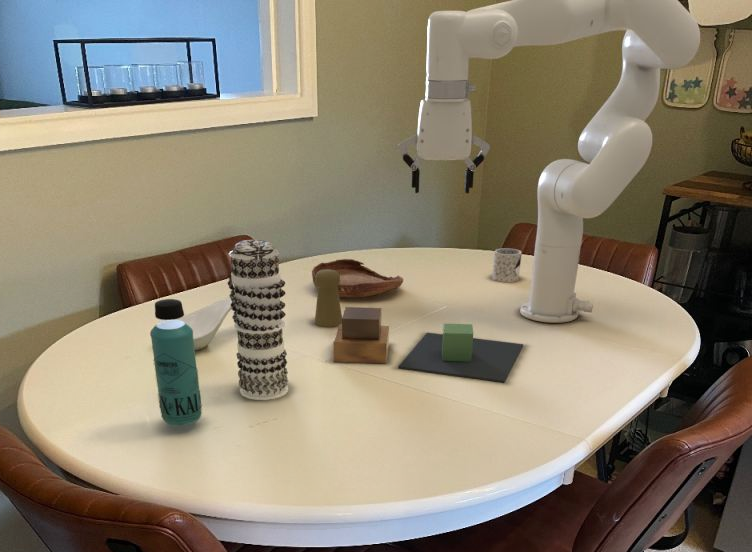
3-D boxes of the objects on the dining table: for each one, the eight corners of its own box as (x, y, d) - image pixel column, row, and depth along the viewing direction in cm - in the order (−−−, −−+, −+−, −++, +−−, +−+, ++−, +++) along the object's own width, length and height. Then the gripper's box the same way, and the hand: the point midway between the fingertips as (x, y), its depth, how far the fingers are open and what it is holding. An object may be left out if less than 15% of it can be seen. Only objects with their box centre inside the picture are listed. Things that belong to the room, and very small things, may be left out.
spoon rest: (180, 361, 146) (175, 325, 142) (147, 345, 153) (142, 310, 149) (277, 332, 160) (275, 298, 156) (243, 319, 167) (240, 286, 163)
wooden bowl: (418, 288, 188) (419, 267, 185) (375, 309, 174) (375, 287, 171) (342, 274, 198) (342, 254, 195) (295, 293, 184) (294, 272, 181)
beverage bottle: (165, 417, 125) (147, 295, 115) (206, 415, 126) (192, 294, 115) (159, 435, 120) (140, 308, 109) (202, 433, 120) (187, 307, 110)
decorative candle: (268, 405, 130) (258, 253, 116) (226, 393, 134) (212, 245, 120) (300, 387, 136) (294, 241, 123) (259, 376, 140) (249, 234, 127)
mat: (523, 346, 155) (523, 344, 154) (504, 382, 139) (504, 380, 138) (426, 334, 160) (427, 332, 160) (398, 368, 144) (398, 366, 144)
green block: (470, 351, 151) (472, 324, 148) (471, 361, 146) (473, 333, 143) (441, 350, 151) (443, 323, 148) (442, 360, 146) (443, 332, 143)
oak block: (388, 345, 154) (389, 325, 152) (386, 363, 146) (386, 343, 144) (339, 343, 155) (338, 324, 153) (333, 361, 147) (333, 341, 144)
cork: (338, 327, 163) (338, 275, 157) (311, 325, 164) (309, 273, 158) (345, 318, 168) (344, 267, 162) (318, 316, 169) (317, 265, 163)
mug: (520, 282, 193) (523, 255, 189) (494, 282, 193) (496, 254, 190) (514, 271, 201) (517, 245, 198) (489, 271, 202) (491, 245, 198)
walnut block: (381, 328, 151) (381, 307, 149) (379, 340, 145) (379, 319, 143) (345, 326, 152) (345, 306, 149) (342, 339, 146) (341, 318, 144)
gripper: (492, 90, 143) (485, 188, 152) (399, 90, 143) (397, 188, 153) (496, 93, 136) (488, 196, 146) (398, 93, 137) (396, 195, 146)
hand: (441, 192), depth 149 cm, fingers open, 9 cm apart
